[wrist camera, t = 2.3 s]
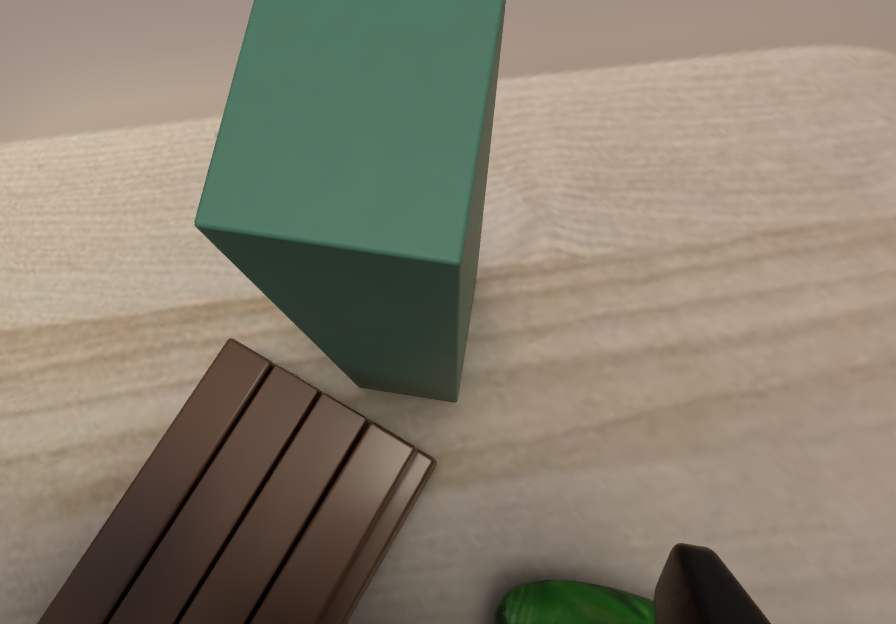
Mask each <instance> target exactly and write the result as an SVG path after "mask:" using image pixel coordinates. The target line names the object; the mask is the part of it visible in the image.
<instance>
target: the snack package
mask: <svg viewBox="0 0 896 624" xmlns="http://www.w3.org/2000/svg"><path fill="white" fill-rule="evenodd" d="M494 624H655V621H654V601H651V600H648V599H645V598H643V597H640V596H637V595H634V594H631V593H627V592H624V591H620V590H617V589H613V588H609V587H604V586H600V585H594V584H588V583H582V582H575V581H555V580H545V581H538V582H533V583H528V584H524V585H520V586H518V587H516V588H514V589H512V590H511V591H509V592H508V593H507V595H506V596H505V597H504V598H503V600H502V601H501V603H500V604H499V606H498V608H497V611H496V613H495V620H494Z"/></svg>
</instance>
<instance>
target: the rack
mask: <svg viewBox="0 0 896 624" xmlns="http://www.w3.org/2000/svg"><path fill="white" fill-rule="evenodd" d="M436 464H437V462H436V461H435V460H434V459H433V458H432V457H431V456H429V455H427V454H425V453H424V452H422V451H420V450H419V449H417V448H416V447H415V446H413V445H412V444H410V443H408V442H406V441H405V440H403V439H401V438H400V437H398V436H396V435H395V434H393V433H391V432H390V431H388V430H386V429H385V428H383V427H381V426H379V425H378V424H376V423H374V422H371V421H370V420H369V419H367V418H366V417H364V416H363V415H361V414H359V413H358V412H356V411H354V410H353V409H351V408H349V407H347V406H346V405H344V404H342V403H341V402H339V401H337V400H336V399H334V398H332V397H331V396H329V395H327V394H326V393H323V392H322V391H320V390H319V389H317V388H315V387H314V386H312V385H310V384H309V383H307V382H305V381H304V380H302V379H300V378H299V377H297V376H295V375H293V374H292V373H290V372H288V371H287V370H285V369H283V368H282V367H280V366H278V365H276V364H274V363H273V362H271V361H270V360H268V359H266V358H265V357H263V356H261V355H260V354H258V353H256V352H255V351H253V350H251V349H250V348H248V347H246V346H245V345H243V344H241V343H239V342H238V341H236V340H234V339H231V338H230V339H228V340H227V342H226V343H225V345H224V346H223V348H222V349H221V351H220V352H219V354H218V355H217V357H216V358H215V360H214V361H213V363H212V364H211V366H210V367H209V369H208V370H207V372H206V373H205V375H204V376H203V378H202V379H201V381H200V382H199V384H198V385H197V387H196V388H195V390H194V391H193V393H192V394H191V396H190V397H189V399H188V400H187V402H186V403H185V405H184V406H183V408H182V409H181V411H180V412H179V414H178V415H177V417H176V418H175V419H174V421H173V422H172V424H171V425H170V427H169V428H168V430H167V431H166V433H165V434H164V436H163V437H162V439H161V440H160V442H159V443H158V445H157V446H156V448H155V449H154V451H153V452H152V454H151V455H150V457H149V458H148V460H147V461H146V463H145V464H144V466H143V467H142V469H141V470H140V472H139V473H138V475H137V476H136V478H135V479H134V481H133V482H132V484H131V485H130V487H129V488H128V490H127V491H126V493H125V494H124V496H123V497H122V499H121V500H120V502H119V503H118V504H117V506H116V507H115V509H114V510H113V512H112V513H111V515H110V516H109V518H108V519H107V521H106V522H105V524H104V525H103V527H102V528H101V530H100V531H99V533H98V534H97V536H96V537H95V539H94V540H93V542H92V543H91V545H90V546H89V548H88V549H87V551H86V552H85V554H84V555H83V557H82V558H81V560H80V561H79V563H78V564H77V566H76V567H75V569H74V570H73V572H72V573H71V575H70V576H69V578H68V579H67V581H66V582H65V584H64V585H63V587H62V588H61V589H60V591H59V592H58V594H57V595H56V597H55V598H54V600H53V601H52V603H51V604H50V606H49V607H48V609H47V610H46V612H45V613H44V615H43V616H42V618H41V619H40V621H39V622H38V624H346V623H347V622H348V620H349V618H350V616H351V615H352V613H353V611H354V609H355V608H356V606H357V604H358V602H359V600H360V599H361V597H362V595H363V593H364V592H365V590H366V588H367V586H368V585H369V583H370V581H371V579H372V578H373V576H374V574H375V572H376V570H377V569H378V567H379V565H380V563H381V562H382V560H383V558H384V556H385V555H386V553H387V551H388V549H389V548H390V546H391V544H392V542H393V541H394V539H395V537H396V535H397V533H398V532H399V530H400V528H401V526H402V525H403V523H404V521H405V519H406V518H407V516H408V514H409V512H410V511H411V509H412V507H413V505H414V503H415V502H416V500H417V498H418V496H419V495H420V493H421V491H422V489H423V488H424V486H425V484H426V482H427V481H428V479H429V477H430V475H431V474H432V472H433V470H434V468H435V466H436Z"/></svg>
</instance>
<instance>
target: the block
mask: <svg viewBox="0 0 896 624" xmlns="http://www.w3.org/2000/svg"><path fill="white" fill-rule="evenodd" d="M505 3H506V0H254V3H253V7H252V10H251V14H250V18H249V21H248V25H247V29H246V32H245V36H244V40H243V43H242V47H241V51H240V55H239V58H238V62H237V66H236V69H235V73H234V77H233V81H232V84H231V88H230V92H229V96H228V99H227V103H226V107H225V110H224V114H223V118H222V121H221V125H220V129H219V133H218V136H217V140H216V144H215V147H214V151H213V155H212V159H211V162H210V166H209V170H208V173H207V177H206V181H205V185H204V188H203V192H202V196H201V199H200V203H199V207H198V210H197V214H196V218H195V227H197V228H198V229H199V230H200V231H201V232H202V233H203V234H204V235H205V236H206V237H207V238H208V239H209V240H210V241H211V242H212V243H213V244H214V245H215V246H216V247H217V248H218V249H219V250H220V251H221V252H222V253H223V254H224V255H225V256H226V257H227V258H228V259H229V260H230V261H231V262H232V263H233V264H234V265H235V266H236V267H237V268H238V269H239V270H240V271H241V272H242V273H243V274H244V275H245V276H246V277H247V278H249V279H250V280H251V281H252V282H253V283H254V284H255V285H256V286H257V287H258V288H259V289H260V290H261V291H262V292H263V293H264V294H265V295H266V296H267V297H268V298H269V299H270V300H271V301H272V302H273V303H274V304H275V305H276V306H277V307H278V308H279V309H280V310H281V311H282V312H283V313H284V314H285V315H286V316H287V317H288V318H289V319H290V320H291V321H292V322H293V323H294V324H295V325H296V326H297V327H298V328H300V329H301V330H302V331H303V332H304V333H305V334H306V335H307V336H308V337H309V338H310V339H311V340H312V341H313V342H314V343H315V344H316V345H317V346H318V347H319V348H320V349H321V350H322V351H323V352H324V353H325V354H326V355H327V356H328V357H329V358H330V359H331V360H332V361H333V362H334V363H335V364H336V365H337V366H338V367H339V368H340V369H341V370H342V371H343V372H344V373H345V374H346V375H347V376H348V377H349V378H350V379H352V380H353V381H354V382H355V383H356V384H357V385H358V386H359V387H362V388H369V389H375V390H381V391H388V392H394V393H400V394H407V395H413V396H419V397H426V398H432V399H438V400H445V401H451V402H457V399H458V392H459V386H460V380H461V373H462V367H463V360H464V354H465V347H466V341H467V334H468V328H469V321H470V315H471V309H472V302H473V296H474V289H475V283H476V276H477V267H478V257H479V248H480V238H481V229H482V220H483V210H484V201H485V191H486V182H487V173H488V163H489V154H490V144H491V135H492V126H493V116H494V107H495V97H496V88H497V79H498V68H499V60H500V50H501V40H502V31H503V22H504V13H505Z"/></svg>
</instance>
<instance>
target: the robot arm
mask: <svg viewBox="0 0 896 624" xmlns="http://www.w3.org/2000/svg"><path fill="white" fill-rule="evenodd" d="M654 621H655V624H771V623H770V622H769V620H768V619H767V618H766V617H765V615H764V614H763V613H762V611H761V610H760V609H759V608H758V606H757V605H756V604H755V602H754V601H753V600H752V599H751V597H750V596H749V595H748V594H747V592H746V591H745V590H744V588H743V587H742V586H741V585H740V583H739V582H738V581H737V580H736V578H735V577H734V576H733V574H732V573H731V572H730V571H729V569H728V568H727V567H726V565H725V564H724V563H723V562H722V560H721V559H720V558H719V557H718V555H717V554H716V553H715V552H714V551H712V550H711V549H709V548H707V547H702V546H696V545H690V544H684V543H678V544H676V545H675V546H674V547H673V548H672V550H671V552H670V554H669V557H668V559H667V561H666V564H665V566H664V569H663V571H662V573H661V576H660V578H659V580H658V583H657V586H656V589H655V595H654Z"/></svg>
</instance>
